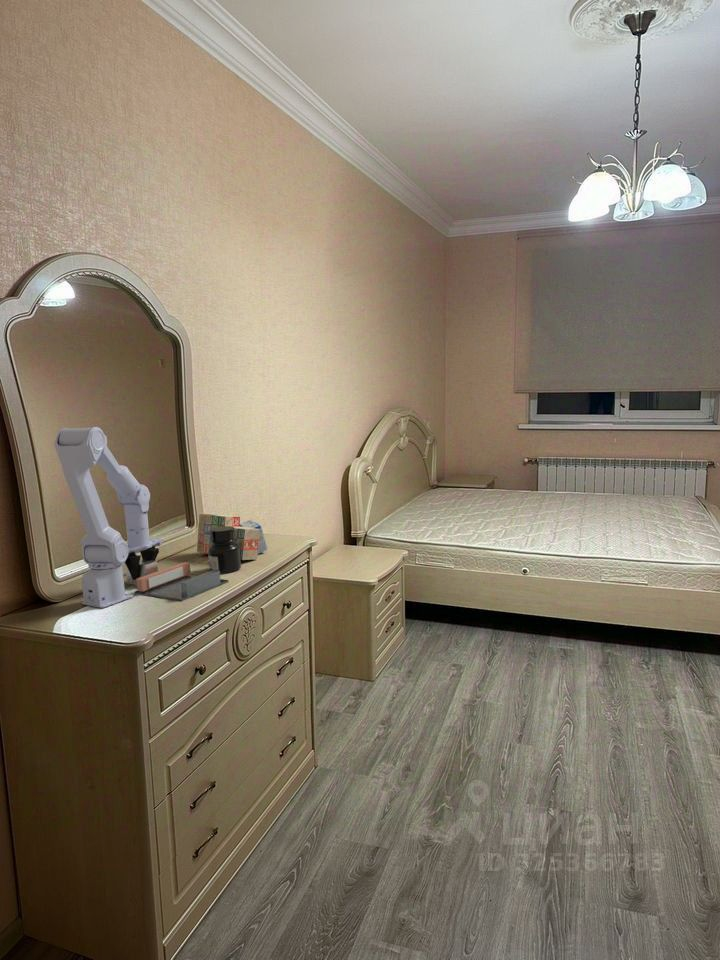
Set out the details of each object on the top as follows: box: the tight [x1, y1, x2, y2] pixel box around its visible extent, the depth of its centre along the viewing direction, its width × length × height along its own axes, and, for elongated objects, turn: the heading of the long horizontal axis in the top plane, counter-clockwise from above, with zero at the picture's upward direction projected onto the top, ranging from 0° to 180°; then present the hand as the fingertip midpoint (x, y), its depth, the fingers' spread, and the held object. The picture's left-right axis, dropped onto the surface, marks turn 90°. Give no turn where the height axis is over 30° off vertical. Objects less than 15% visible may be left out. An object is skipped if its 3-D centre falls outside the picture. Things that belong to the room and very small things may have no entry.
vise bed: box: [134, 570, 229, 602], centre depth 176 cm, size 17×17×4 cm
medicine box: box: [239, 519, 269, 555], centre depth 209 cm, size 8×4×9 cm, turn 33°
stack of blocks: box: [196, 513, 260, 561], centre depth 205 cm, size 21×6×12 cm, turn 52°
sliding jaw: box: [136, 561, 192, 592], centre depth 179 cm, size 17×2×3 cm, turn 150°
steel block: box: [124, 558, 159, 586], centre depth 182 cm, size 4×8×6 cm, turn 59°
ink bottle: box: [207, 526, 242, 574], centre depth 191 cm, size 10×9×12 cm
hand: (142, 577), depth 182 cm, fingers closed on steel block, 4 cm apart
